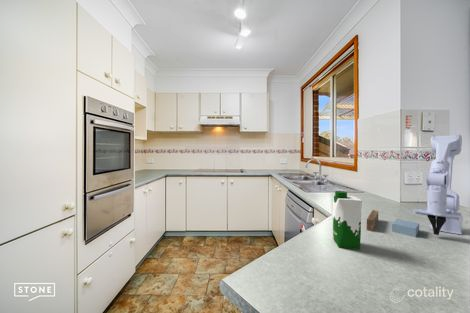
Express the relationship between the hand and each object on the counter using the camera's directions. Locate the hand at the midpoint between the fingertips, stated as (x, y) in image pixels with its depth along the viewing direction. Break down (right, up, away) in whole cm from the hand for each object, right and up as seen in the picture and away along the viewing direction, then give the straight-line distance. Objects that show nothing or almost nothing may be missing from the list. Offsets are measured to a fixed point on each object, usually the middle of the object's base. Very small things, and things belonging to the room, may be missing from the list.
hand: (436, 234), depth 85 cm
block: (-7, -2, +6) cm, 10 cm away
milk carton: (-42, -1, -8) cm, 43 cm away
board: (-17, -1, +14) cm, 22 cm away
